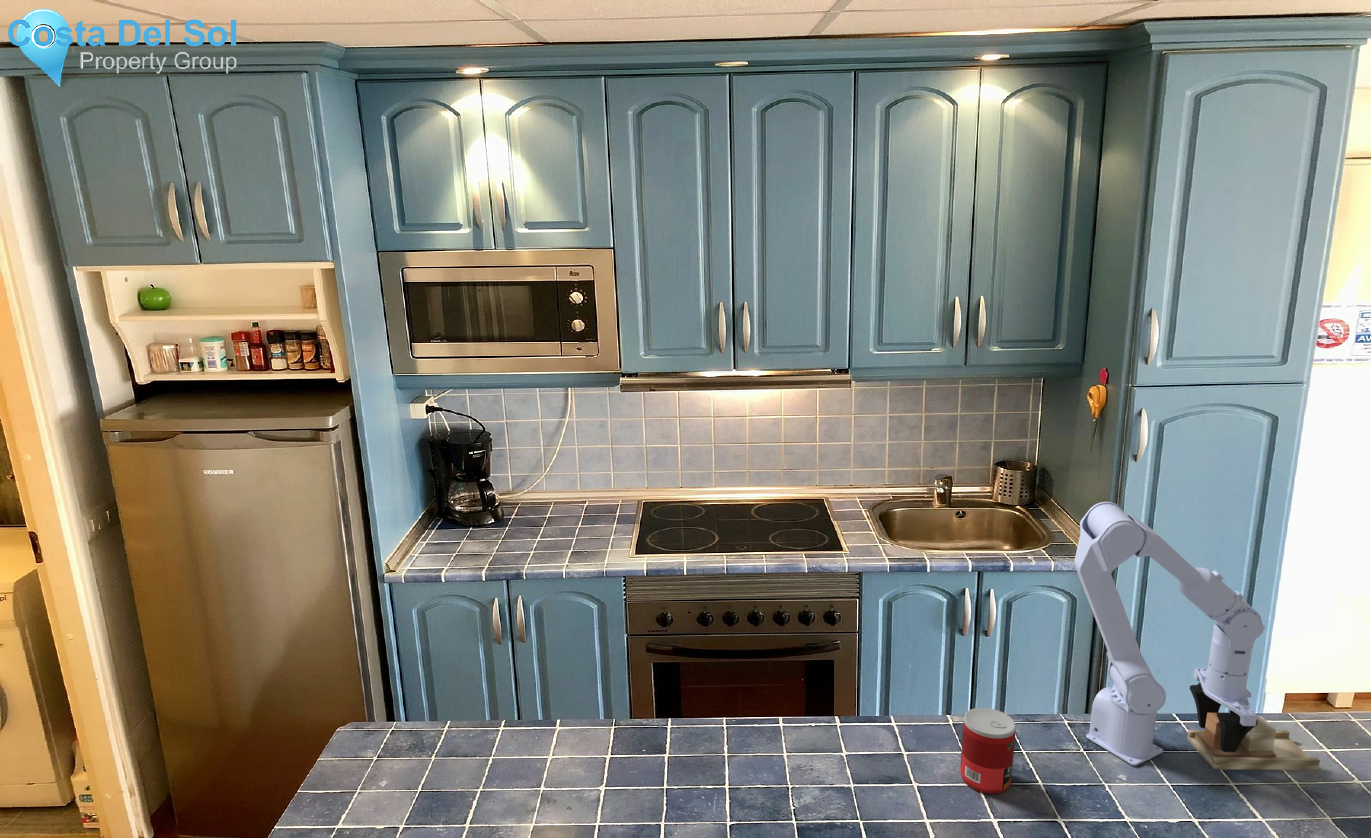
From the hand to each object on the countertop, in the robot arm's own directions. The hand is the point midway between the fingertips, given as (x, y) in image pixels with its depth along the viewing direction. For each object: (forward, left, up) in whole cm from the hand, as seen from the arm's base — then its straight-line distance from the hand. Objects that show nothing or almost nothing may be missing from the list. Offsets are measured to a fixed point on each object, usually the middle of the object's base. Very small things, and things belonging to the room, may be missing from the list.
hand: (1217, 738), depth 145 cm
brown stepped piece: (+2, +3, -2) cm, 4 cm away
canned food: (-14, -39, -3) cm, 42 cm away
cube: (+3, +5, -1) cm, 6 cm away
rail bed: (+3, +5, -3) cm, 7 cm away
